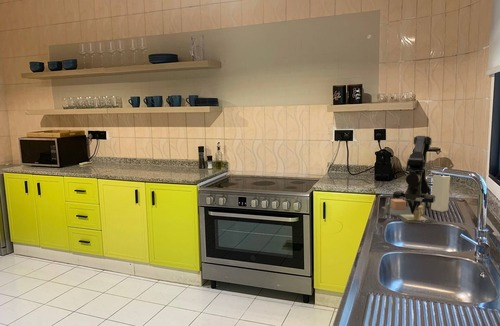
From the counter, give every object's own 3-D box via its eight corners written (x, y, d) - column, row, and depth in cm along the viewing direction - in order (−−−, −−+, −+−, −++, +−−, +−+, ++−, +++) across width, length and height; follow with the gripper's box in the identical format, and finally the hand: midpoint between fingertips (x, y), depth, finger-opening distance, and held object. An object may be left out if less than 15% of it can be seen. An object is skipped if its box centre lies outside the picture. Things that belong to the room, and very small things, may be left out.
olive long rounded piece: (423, 213, 207) (424, 202, 206) (425, 214, 205) (426, 203, 204) (384, 214, 206) (385, 202, 205) (386, 215, 203) (386, 203, 203)
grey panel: (409, 207, 221) (409, 206, 221) (437, 221, 191) (437, 221, 191) (380, 207, 220) (380, 206, 220) (405, 222, 190) (405, 221, 190)
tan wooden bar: (419, 213, 205) (419, 204, 204) (424, 213, 204) (424, 205, 203) (413, 219, 192) (413, 210, 192) (418, 220, 191) (418, 211, 190)
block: (401, 207, 219) (401, 199, 219) (406, 209, 213) (406, 201, 213) (390, 207, 219) (390, 199, 218) (395, 209, 213) (395, 201, 212)
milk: (448, 210, 212) (451, 170, 209) (440, 212, 209) (443, 170, 206) (437, 208, 218) (440, 168, 215) (430, 209, 215) (433, 169, 212)
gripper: (390, 182, 193) (388, 213, 195) (432, 187, 182) (429, 220, 184) (396, 179, 202) (394, 209, 204) (436, 183, 191) (434, 215, 194)
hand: (412, 213), depth 196 cm, fingers closed
